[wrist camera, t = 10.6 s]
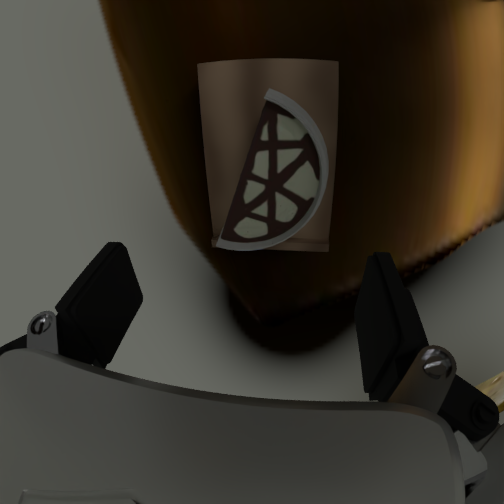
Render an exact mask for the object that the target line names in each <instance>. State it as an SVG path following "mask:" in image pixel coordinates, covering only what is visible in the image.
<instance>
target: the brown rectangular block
mask: <svg viewBox="0 0 504 504" xmlns="http://www.w3.org/2000/svg"><path fill="white" fill-rule="evenodd" d="M197 66H198V81H199V95H200V108H201V121H202V132H203V143H204V154H205V164H206V174H207V184H208V193H209V202H210V211H211V219H212V227H213V237H212V239H211V241H212V247H217V246H216V244H217V241H218V239H219V236H220V234H221V231H222V229H223V227H224V224H225V222H226V219H227V215H228V212H229V209H230V206H231V203H232V200H233V196H234V194H235V191H236V188H237V185H238V182H239V179H240V174H241V172H242V170H243V167H244V164H245V161H246V158H247V154H248V152H249V149H250V146H251V143H252V140H253V137H254V134H255V131H256V128H257V125H258V123H259V120H260V117H261V113H262V109H263V107H264V105H265V102H266V99H264V97H265V95H266V93H267V91H268V90H269V88H270V89H273V90H275V91H278V92H280V93H282V94H284V95H286V96H287V97H289V98H290V99H292V100H294V101H295V102H296V103H297V104H298V105H300V106H301V107H302V108H303V109H304V110H305V111H306V112H307V113H308V114H309V116H310V117H311V118H312V119H313V121H314V122H315V123H316V125H317V127H318V129H319V130H320V132H321V134H322V136H323V139H324V142H325V145H326V148H327V154H328V160H329V174H328V180H327V185H326V189H325V192H324V195H323V197H322V200H321V203H320V205H319V207H318V209H317V210H316V212H315V214H314V215H313V217H312V218H311V219H310V220H309V221H308V223H307V224H306V225H305V226H304V227H303V228H301V229H300V230H299V231H298V232H297V233H295V234H294V235H293V236H291V237H290V238H288V239H286V240H285V241H283V242H281V243H278V244H276V245H274V246H271V247H267V248H264V249H269V250H294V251H318V252H328V250H329V240H328V238H329V229H330V220H331V211H332V200H333V189H334V177H335V163H336V147H337V126H338V85H339V67H338V61H327V60H313V59H244V60H229V61H218V62H208V63H200V64H197ZM218 248H220V247H218Z"/></svg>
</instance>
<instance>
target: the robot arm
mask: <svg viewBox="0 0 504 504" xmlns="http://www.w3.org/2000/svg"><path fill="white" fill-rule="evenodd" d="M142 302H143V295H142V292H141V289H140V286H139V283H138V281H137V278H136V275H135V272H134V269H133V266H132V263H131V260H130V257H129V254H128V251H127V248H126V247H125V246H124V245H123V244H122V243H121V242H108V243H107V244H106V245H105V246H104V247H103V248H102V250H101V251H100V252H99V253H98V254H97V255H96V256H95V258H94V259H93V260H92V261H91V262H90V263H89V265H88V266H87V267H86V268H85V269H84V271H83V272H82V273H81V274H80V275H79V277H78V278H77V279H76V280H75V282H74V283H73V284H72V285H71V287H70V288H69V290H68V291H67V292H66V293H65V294H64V296H63V297H62V298H61V300H60V301H59V302H58V304H57V305H56V306H55V309H56V310H57V312H58V314H57V315H56V316H55V314H54V313H53V312H51V311H44V312H41V313H39V314H37V315H36V316H35V317H33V319H32V320H31V321H30V323H29V325H28V329H27V334H26V335H24V336H22V337H20V338H18V339H16V340H14V341H12V342H9V343H7V344H5V345H4V346H2V347H0V504H504V424H502V425H500V424H499V423H498V422H499V411H498V407H497V405H496V404H495V402H494V401H493V400H492V399H491V398H489V397H488V396H486V395H485V394H483V393H482V392H481V391H479V390H478V389H476V388H475V387H473V386H472V385H471V384H469V383H468V382H466V381H465V380H463V379H462V378H461V377H459V376H458V375H456V370H457V368H456V362H455V359H454V357H453V356H452V354H451V353H450V352H449V351H447V350H446V349H445V348H443V347H440V346H435V345H432V346H429V344H428V341H427V338H426V335H425V331H424V328H423V326H422V323H421V320H420V317H419V314H418V311H417V309H416V306H415V303H414V301H413V298H412V295H411V293H410V291H409V290H408V289H404V286H403V284H402V282H401V279H400V276H399V274H398V271H397V269H396V266H395V264H394V262H393V259H392V257H391V255H390V253H387V252H374V253H373V256H369V257H368V259H367V264H366V268H365V272H364V276H363V280H362V284H361V288H360V292H359V296H358V300H357V304H356V307H355V312H354V313H355V314H354V317H355V324H356V331H357V337H358V344H359V352H360V359H361V367H362V376H363V386H364V391H365V393H369V400H370V401H371V400H372V401H373V400H378V402H356V401H349V402H345V401H343V402H341V401H340V402H338V401H337V402H336V401H300V400H298V401H297V400H280V399H266V398H265V399H264V398H255V397H245V396H236V395H228V394H221V393H213V392H206V391H200V390H194V389H188V388H183V387H178V386H172V385H167V384H162V383H158V382H153V381H149V380H145V379H140V378H136V377H132V376H128V375H124V374H120V373H117V372H113V371H109V370H106V369H105V368H106V366H107V364H108V363H110V362H111V361H112V359H113V357H114V355H115V353H116V351H117V349H118V347H119V345H120V343H121V341H122V339H123V337H124V335H125V333H126V332H127V330H128V328H129V326H130V324H131V322H132V320H133V318H134V317H135V315H136V313H137V311H138V309H139V308H140V306H141V304H142Z"/></svg>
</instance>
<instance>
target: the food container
mask: <svg viewBox="0 0 504 504" xmlns="http://www.w3.org/2000/svg"><path fill="white" fill-rule="evenodd" d="M264 99H266V102H265V105H264V107H263V109H262V113H261V117H260V120H259V123H258V125H257V128H256V131H255V134H254V137H253V140H252V143H251V146H250V149H249V152H248V154H247V158H246V161H245V164H244V167H243V170H242V172H241V174H240V179H239V182H238V185H237V188H236V191H235V194H234V196H233V200H232V203H231V206H230V209H229V212H228V215H227V219H226V222H225V224H224V227H223V229H222V231H221V234H220V236H219V239H218V241H217V244H216V246H217V247H220V248H224V249H229V250H237V251H251V250H259V249H264V248H267V247H271V246H274V245H276V244H278V243H281V242H283V241H285V240H286V239H288V238H290V237H291V236H293V235H294V234H295V233H297V232H298V231H299V230H300V229H301V228H303V227H304V226H305V225H306V224H307V223H308V221H309V220H310V219H311V218H312V217H313V215H314V214H315V212H316V210H317V209H318V207H319V205H320V203H321V200H322V197H323V195H324V192H325V189H326V185H327V180H328V174H329V160H328V154H327V148H326V145H325V142H324V139H323V136H322V134H321V132H320V130H319V129H318V127H317V125H316V123H315V122H314V121H313V119H312V118H311V117H310V116H309V114H308V113H307V112H306V111H305V110H304V109H303V108H302V107H301V106H300V105H298V104H297V103H296V102H295V101H294V100H292V99H290V98H289V97H287V96H286V95H284V94H282V93H280V92H278V91H275V90H273V89H270V88H269V90H268V91H267V93H266V95H265V97H264Z"/></svg>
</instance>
